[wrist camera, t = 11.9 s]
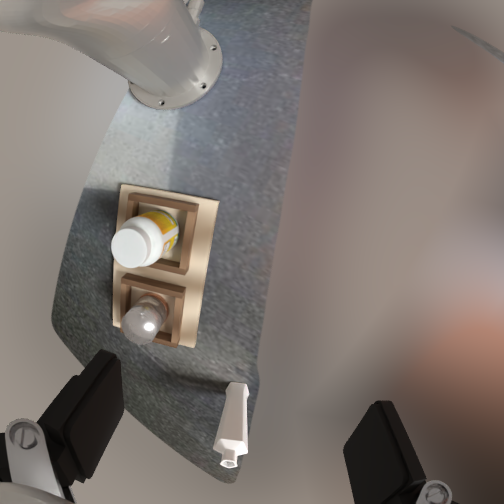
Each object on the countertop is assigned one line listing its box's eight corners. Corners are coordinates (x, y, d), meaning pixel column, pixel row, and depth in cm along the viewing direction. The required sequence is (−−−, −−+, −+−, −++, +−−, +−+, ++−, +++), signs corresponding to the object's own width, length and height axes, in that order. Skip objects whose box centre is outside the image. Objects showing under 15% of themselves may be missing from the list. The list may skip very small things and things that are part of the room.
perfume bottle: (219, 381, 43) (204, 455, 28) (246, 378, 42) (240, 454, 28) (226, 400, 44) (215, 472, 29) (252, 398, 44) (248, 471, 29)
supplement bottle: (183, 249, 36) (157, 274, 27) (144, 251, 36) (110, 276, 27) (177, 206, 35) (149, 219, 25) (138, 211, 35) (101, 224, 26)
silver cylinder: (139, 288, 38) (120, 307, 32) (170, 296, 38) (156, 317, 32) (137, 317, 39) (121, 339, 33) (167, 326, 39) (154, 349, 33)
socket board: (124, 183, 35) (114, 185, 32) (219, 200, 35) (215, 203, 32) (115, 322, 41) (107, 331, 38) (195, 344, 41) (191, 355, 38)
